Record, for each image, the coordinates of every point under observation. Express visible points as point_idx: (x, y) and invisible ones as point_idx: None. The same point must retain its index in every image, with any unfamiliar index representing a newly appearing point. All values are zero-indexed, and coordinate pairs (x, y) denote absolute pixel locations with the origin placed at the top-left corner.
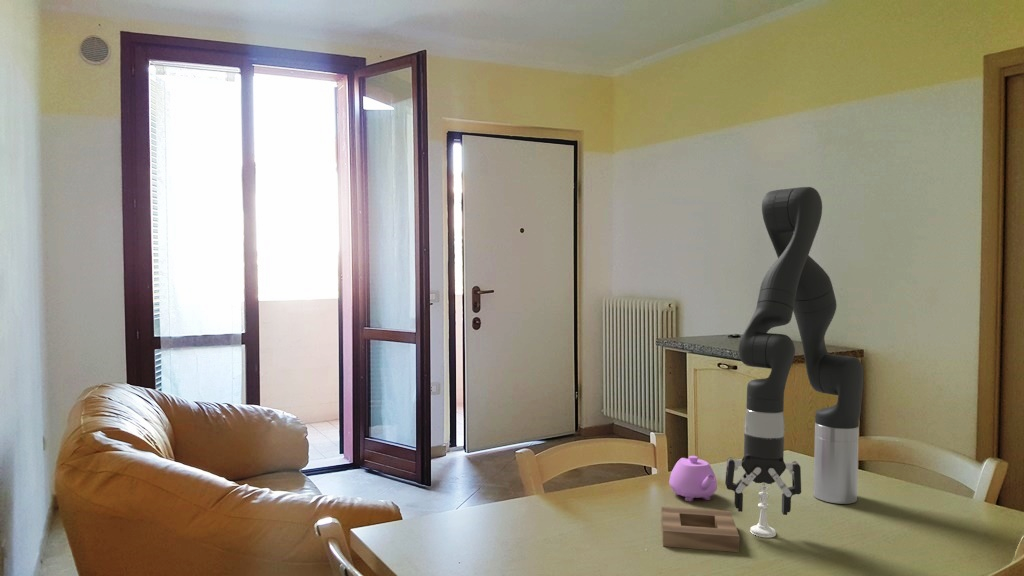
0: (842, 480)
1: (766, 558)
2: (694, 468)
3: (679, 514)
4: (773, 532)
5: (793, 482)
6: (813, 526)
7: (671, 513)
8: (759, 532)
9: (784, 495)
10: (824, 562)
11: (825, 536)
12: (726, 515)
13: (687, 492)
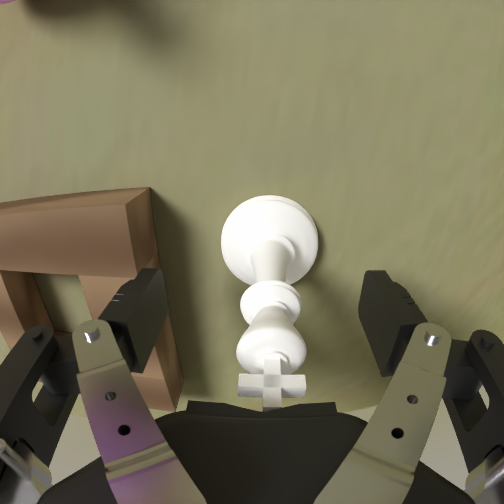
0: None
1: (247, 399)
2: None
3: (2, 279)
4: (304, 274)
5: (486, 384)
6: (468, 145)
7: None
8: (250, 284)
9: (392, 367)
10: (376, 391)
11: (467, 235)
12: (114, 266)
13: (10, 1)
